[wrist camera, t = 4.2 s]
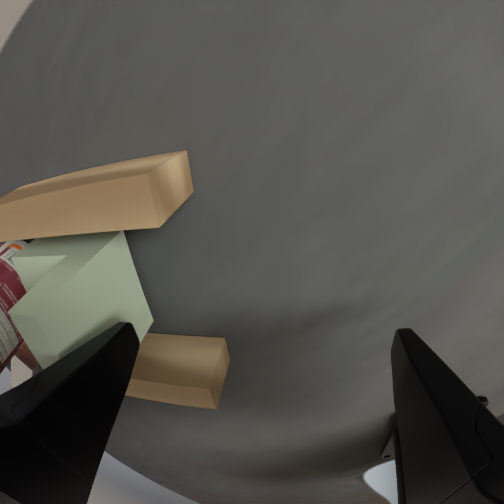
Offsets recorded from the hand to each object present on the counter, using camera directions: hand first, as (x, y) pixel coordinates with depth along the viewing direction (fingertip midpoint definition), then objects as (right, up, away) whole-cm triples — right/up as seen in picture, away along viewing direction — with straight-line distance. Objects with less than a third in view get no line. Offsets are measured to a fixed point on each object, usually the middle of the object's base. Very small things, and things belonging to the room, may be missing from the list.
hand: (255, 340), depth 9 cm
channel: (-6, +2, +4) cm, 8 cm away
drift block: (-8, +1, +4) cm, 9 cm away
